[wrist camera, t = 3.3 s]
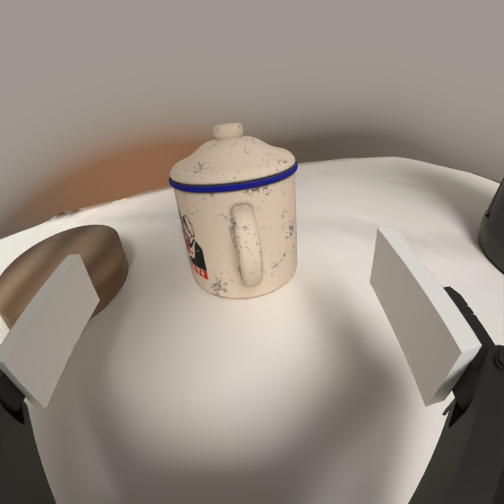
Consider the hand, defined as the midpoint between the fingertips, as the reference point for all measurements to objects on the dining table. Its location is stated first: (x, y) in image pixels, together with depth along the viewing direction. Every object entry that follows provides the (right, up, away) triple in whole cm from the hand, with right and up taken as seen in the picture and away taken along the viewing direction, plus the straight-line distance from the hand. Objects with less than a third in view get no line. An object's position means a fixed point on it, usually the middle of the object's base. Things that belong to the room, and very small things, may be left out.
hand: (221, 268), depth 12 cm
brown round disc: (-17, -3, +12) cm, 21 cm away
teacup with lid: (+1, -2, +11) cm, 11 cm away
